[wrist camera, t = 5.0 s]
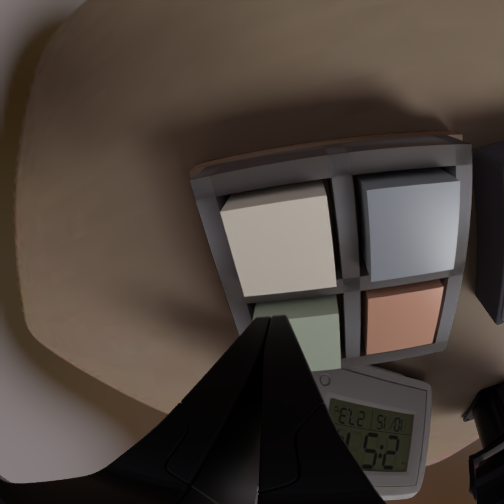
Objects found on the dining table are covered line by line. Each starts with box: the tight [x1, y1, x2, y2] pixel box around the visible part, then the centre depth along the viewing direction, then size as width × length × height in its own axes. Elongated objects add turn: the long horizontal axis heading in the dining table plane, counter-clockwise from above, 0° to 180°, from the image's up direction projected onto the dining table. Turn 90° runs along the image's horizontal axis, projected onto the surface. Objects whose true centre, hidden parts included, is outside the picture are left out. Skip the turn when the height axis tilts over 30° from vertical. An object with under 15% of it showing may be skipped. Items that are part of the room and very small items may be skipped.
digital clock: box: [257, 365, 432, 500], centre depth 18 cm, size 16×9×11 cm, turn 57°
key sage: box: [252, 294, 341, 371], centre depth 15 cm, size 4×4×2 cm
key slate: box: [356, 167, 460, 282], centre depth 11 cm, size 4×4×2 cm
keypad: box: [188, 131, 472, 368], centre depth 15 cm, size 12×14×4 cm
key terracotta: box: [362, 279, 444, 355], centre depth 15 cm, size 4×4×2 cm
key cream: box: [220, 179, 337, 297], centre depth 13 cm, size 4×4×2 cm
